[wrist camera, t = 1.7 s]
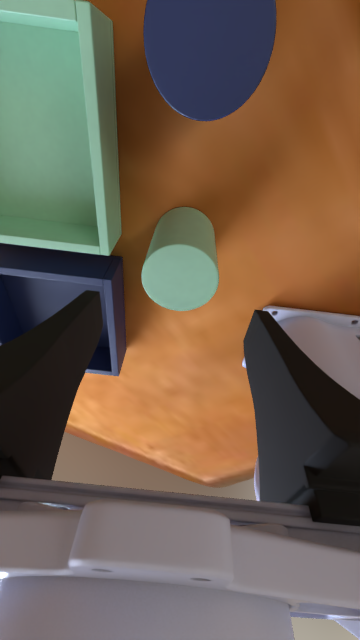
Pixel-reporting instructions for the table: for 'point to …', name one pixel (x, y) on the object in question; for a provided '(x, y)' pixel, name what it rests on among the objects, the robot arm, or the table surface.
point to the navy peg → (208, 52)
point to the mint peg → (181, 261)
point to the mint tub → (58, 127)
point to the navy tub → (62, 295)
